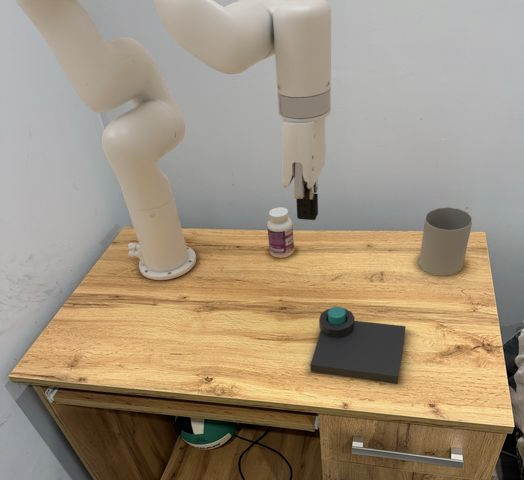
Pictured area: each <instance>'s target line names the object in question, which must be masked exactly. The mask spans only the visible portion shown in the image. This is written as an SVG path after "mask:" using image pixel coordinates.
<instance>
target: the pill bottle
mask: <svg viewBox="0 0 524 480" xmlns="http://www.w3.org/2000/svg"><path fill="white" fill-rule="evenodd" d="M268 217H269V220H268V221H267V222H266V223H267V224H266V228H267V230H266V231H267V237H268V246H269V253H270V254H271V256H272V257H273V258H278V259H284V258H287V257H289V256H291V255H292V254H293V253H294V251H295V243H294V242H295V240H294V227H293V226H294V225H293V221H292V219H291V218H290V215H289V209H287V208H286V207H282V206H281V207H280V206H279V207H274V208H272V209H270V210H269V212H268Z"/></svg>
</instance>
